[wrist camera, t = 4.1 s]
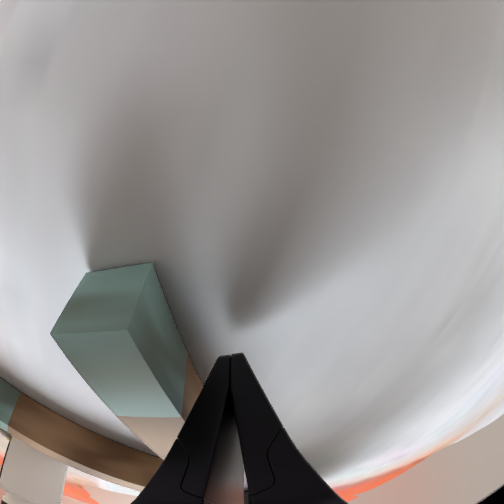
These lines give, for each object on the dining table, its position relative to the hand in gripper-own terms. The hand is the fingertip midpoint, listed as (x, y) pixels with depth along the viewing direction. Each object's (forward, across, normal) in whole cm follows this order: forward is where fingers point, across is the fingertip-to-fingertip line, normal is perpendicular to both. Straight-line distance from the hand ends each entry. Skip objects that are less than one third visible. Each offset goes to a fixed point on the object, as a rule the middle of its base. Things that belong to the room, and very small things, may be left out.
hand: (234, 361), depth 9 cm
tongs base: (+1, +11, +8) cm, 14 cm away
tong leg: (+1, +3, +4) cm, 5 cm away
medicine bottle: (+1, +28, +17) cm, 33 cm away
